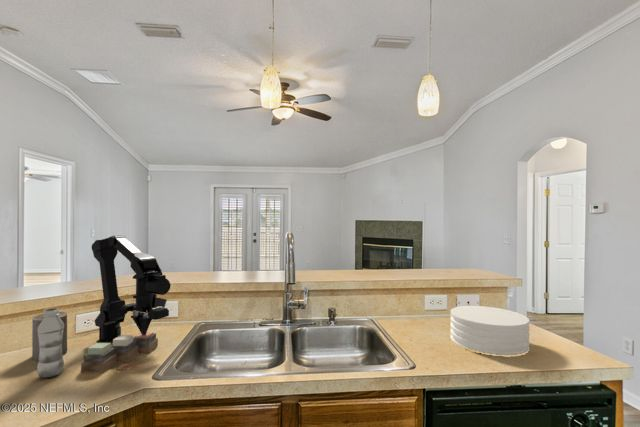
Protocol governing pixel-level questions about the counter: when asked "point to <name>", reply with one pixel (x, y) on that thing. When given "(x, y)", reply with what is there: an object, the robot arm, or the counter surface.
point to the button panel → (119, 355)
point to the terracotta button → (144, 335)
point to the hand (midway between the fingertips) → (143, 334)
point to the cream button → (123, 340)
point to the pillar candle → (35, 338)
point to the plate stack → (490, 330)
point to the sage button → (99, 349)
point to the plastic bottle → (50, 344)
